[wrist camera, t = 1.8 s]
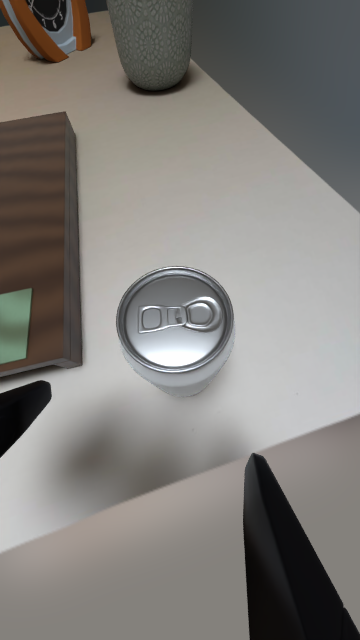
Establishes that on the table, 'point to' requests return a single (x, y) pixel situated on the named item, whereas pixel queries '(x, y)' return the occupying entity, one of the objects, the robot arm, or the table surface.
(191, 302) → the can
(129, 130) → the table surface
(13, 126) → the shelf
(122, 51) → the planter
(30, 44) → the alarm clock
